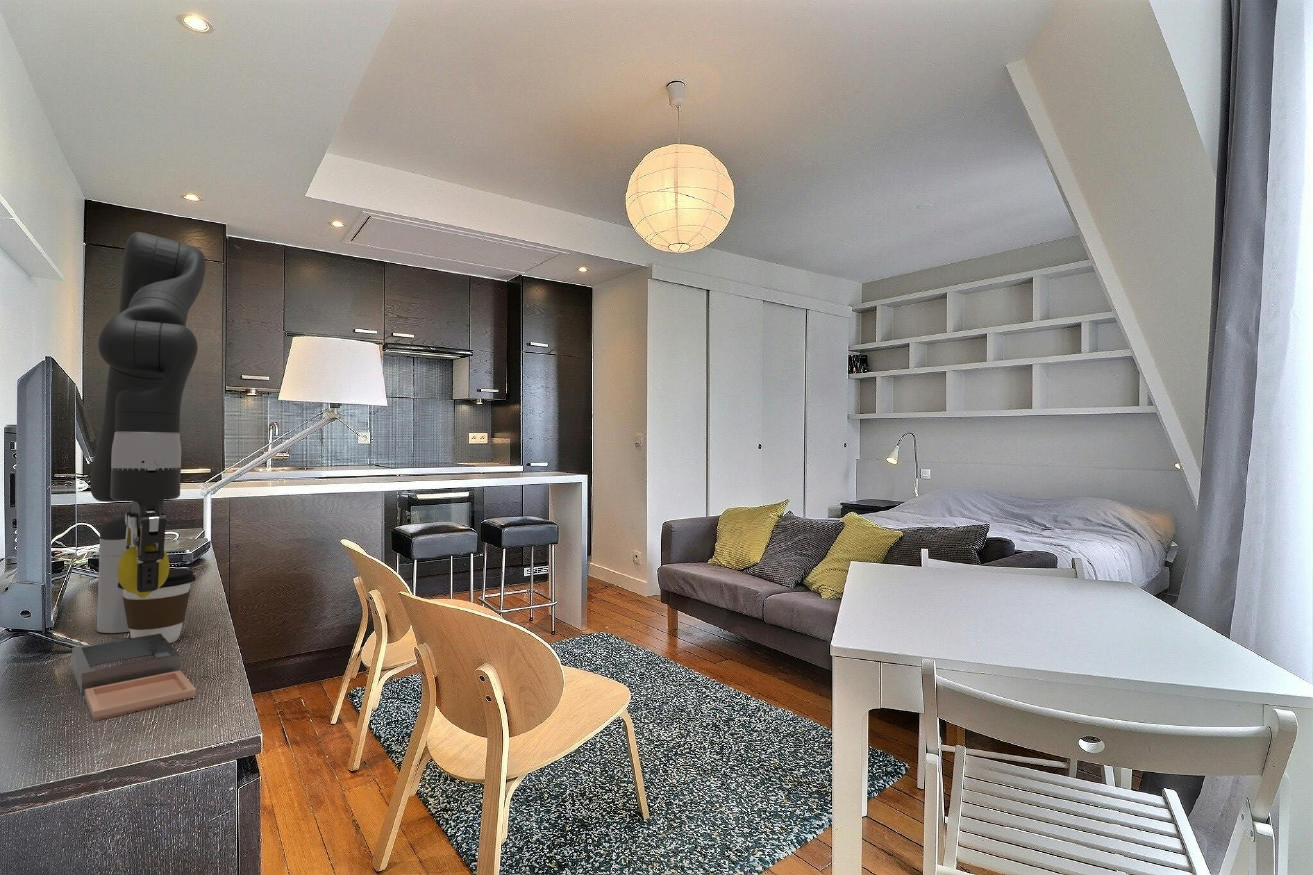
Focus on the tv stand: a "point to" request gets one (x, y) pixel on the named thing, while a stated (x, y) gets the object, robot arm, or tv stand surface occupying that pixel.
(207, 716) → the tv stand surface
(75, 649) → the grey open box
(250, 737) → the tv stand surface
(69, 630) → the tv stand surface
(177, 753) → the tv stand surface
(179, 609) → the coffee cup
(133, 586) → the lemon
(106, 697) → the tray
